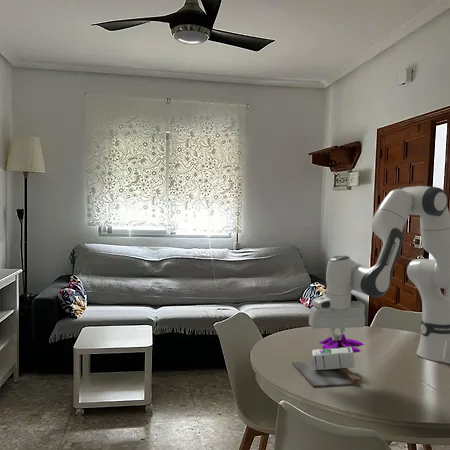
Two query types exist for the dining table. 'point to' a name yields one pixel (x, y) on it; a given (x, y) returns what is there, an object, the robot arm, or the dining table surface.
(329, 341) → the cloth
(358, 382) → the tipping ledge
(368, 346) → the dining table surface
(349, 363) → the syrup box
